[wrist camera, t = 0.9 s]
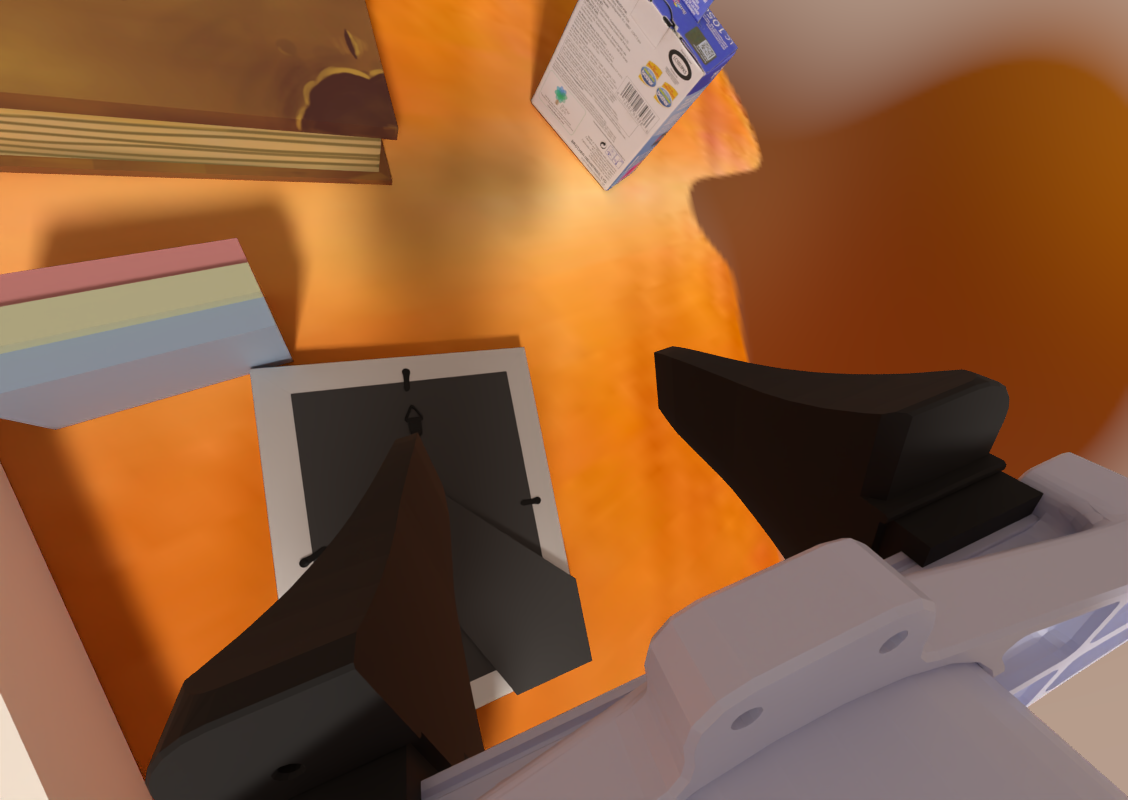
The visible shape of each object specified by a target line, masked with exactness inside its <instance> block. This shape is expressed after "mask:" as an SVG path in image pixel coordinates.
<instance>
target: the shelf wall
mask: <svg viewBox="0 0 1128 800" xmlns="http://www.w3.org/2000/svg"><path fill="white" fill-rule="evenodd" d="M0 800H153V799H152V797H151V795H150V793H149V791H148V789H147V787H146V785H145V782H144V779H143V777H142V775H141V773H140V771H139V768H138V766H137V764H136V762H135V760H134V757H133V755H132V753H131V751H130V748H129V746H128V744H127V742H126V740H125V737H124V735H123V733H122V731H121V729H120V726H119V724H118V722H117V720H116V717H115V715H114V713H113V711H112V709H111V706H110V704H109V702H108V700H107V698H106V695H105V693H104V691H103V689H102V686H101V684H100V682H99V680H98V678H97V675H96V673H95V671H94V669H93V667H92V664H91V662H90V660H89V658H88V655H87V653H86V651H85V649H84V647H83V644H82V642H81V640H80V638H79V635H78V633H77V631H76V629H75V627H74V624H73V622H72V620H71V618H70V616H69V613H68V611H67V609H66V607H65V604H64V602H63V600H62V598H61V596H60V593H59V591H58V589H57V587H56V585H55V582H54V580H53V578H52V576H51V573H50V571H49V569H48V567H47V565H46V562H45V560H44V558H43V556H42V554H41V551H40V549H39V547H38V545H37V542H36V540H35V538H34V536H33V534H32V531H31V529H30V527H29V525H28V523H27V520H26V518H25V516H24V514H23V511H22V509H21V507H20V505H19V503H18V500H17V498H16V496H15V494H14V492H13V489H12V487H11V485H10V483H9V480H8V478H7V476H6V474H5V472H4V469H3V467H2V465H1V463H0Z"/></svg>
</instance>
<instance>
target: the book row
mask: <svg viewBox="0 0 1128 800" xmlns="http://www.w3.org/2000/svg"><path fill="white" fill-rule="evenodd" d="M292 361H293V360H292V357H291V355H290V353H289V351H288V348H287V346H286V344H285V342H284V340H283V337H282V335H281V333H280V331H279V328H278V326H277V324H276V322H275V320H274V317H273V315H272V313H271V311H270V308H269V306H268V304H267V302H266V299H265V297H264V295H263V293H262V291H261V289H260V286H259V284H258V282H257V280H256V278H255V276H254V274H253V271H252V269H251V267H250V265H249V263H248V261H247V258H246V256H245V254H244V252H243V250H242V248H241V246H240V243H239V241H238V239H237V238H233V239H227V240H220V241H214V242H207V243H201V244H194V245H188V246H182V247H175V248H169V249H162V250H156V251H149V252H143V253H136V254H130V255H123V256H117V257H111V258H104V259H98V260H91V261H85V262H78V263H72V264H65V265H59V266H52V267H46V268H40V269H33V270H27V271H20V272H14V273H7V274H1V275H0V418H2V419H7V420H11V421H16V422H21V423H26V424H31V425H35V426H40V427H45V428H50V429H55V430H56V429H60V428H63V427H67V426H70V425H74V424H77V423H81V422H84V421H87V420H91V419H94V418H98V417H101V416H105V415H108V414H112V413H115V412H119V411H122V410H126V409H129V408H133V407H136V406H140V405H143V404H147V403H150V402H153V401H157V400H160V399H164V398H167V397H171V396H174V395H178V394H181V393H185V392H188V391H192V390H195V389H199V388H202V387H206V386H209V385H213V384H216V383H219V382H223V381H226V380H230V379H233V378H237V377H240V376H244V375H247V374H250V369H254V368H267V367H275V366H279V365H282V364H286V363H289V362H292Z"/></svg>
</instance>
